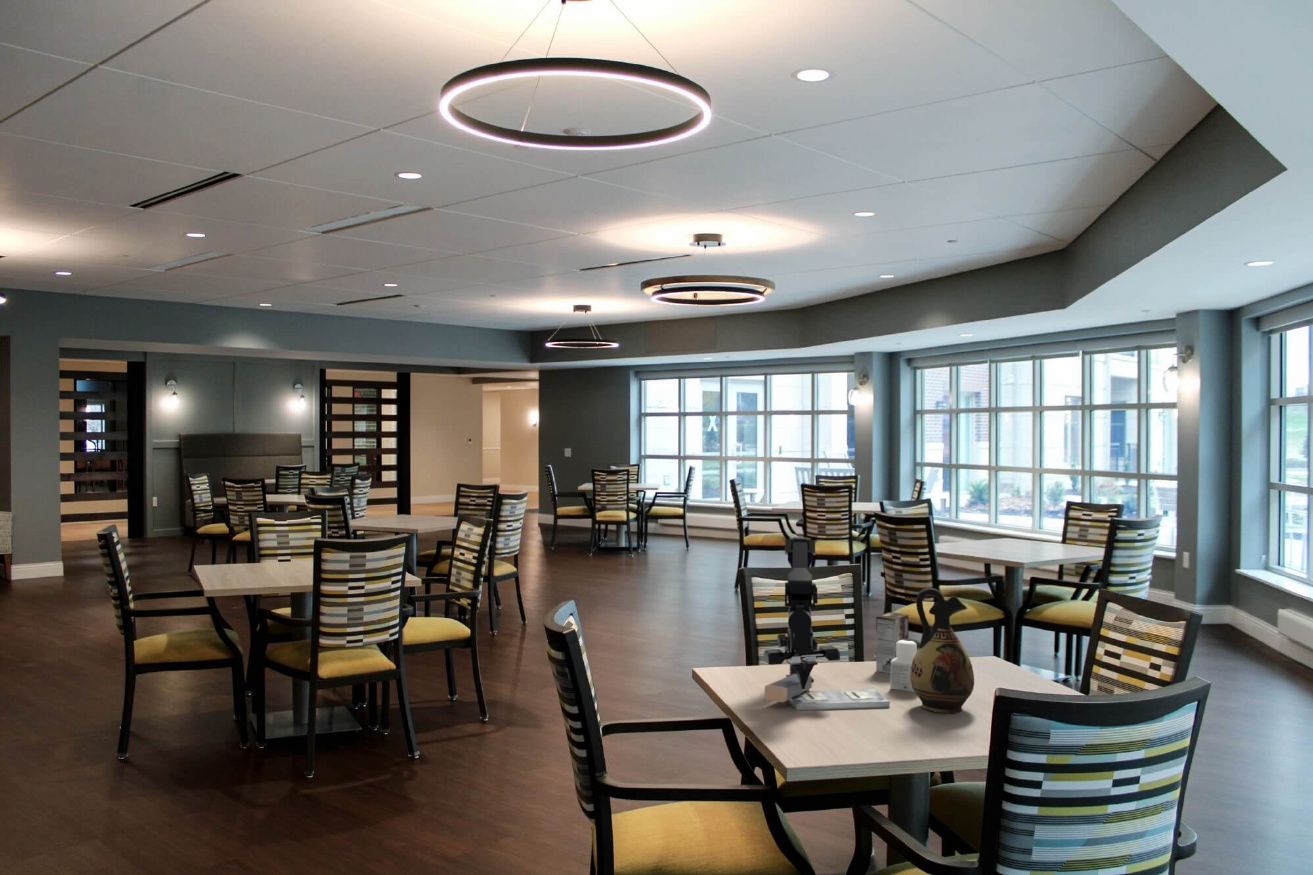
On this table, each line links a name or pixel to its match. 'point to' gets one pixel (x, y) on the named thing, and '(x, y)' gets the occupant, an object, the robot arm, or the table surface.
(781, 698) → the swing bar
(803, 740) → the table surface
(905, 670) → the container
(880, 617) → the coffee box
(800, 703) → the panel
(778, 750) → the table surface
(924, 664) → the ceramic jug
